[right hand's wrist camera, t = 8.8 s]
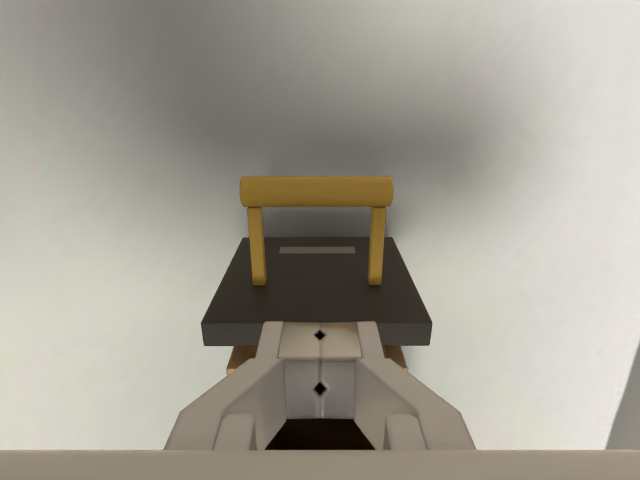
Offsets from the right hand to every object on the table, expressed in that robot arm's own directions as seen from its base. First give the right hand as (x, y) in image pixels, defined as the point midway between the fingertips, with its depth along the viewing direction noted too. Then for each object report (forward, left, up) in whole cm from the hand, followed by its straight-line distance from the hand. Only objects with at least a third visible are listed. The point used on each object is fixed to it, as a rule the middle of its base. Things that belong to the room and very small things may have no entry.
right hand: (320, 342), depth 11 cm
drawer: (+7, -6, -14) cm, 17 cm away
